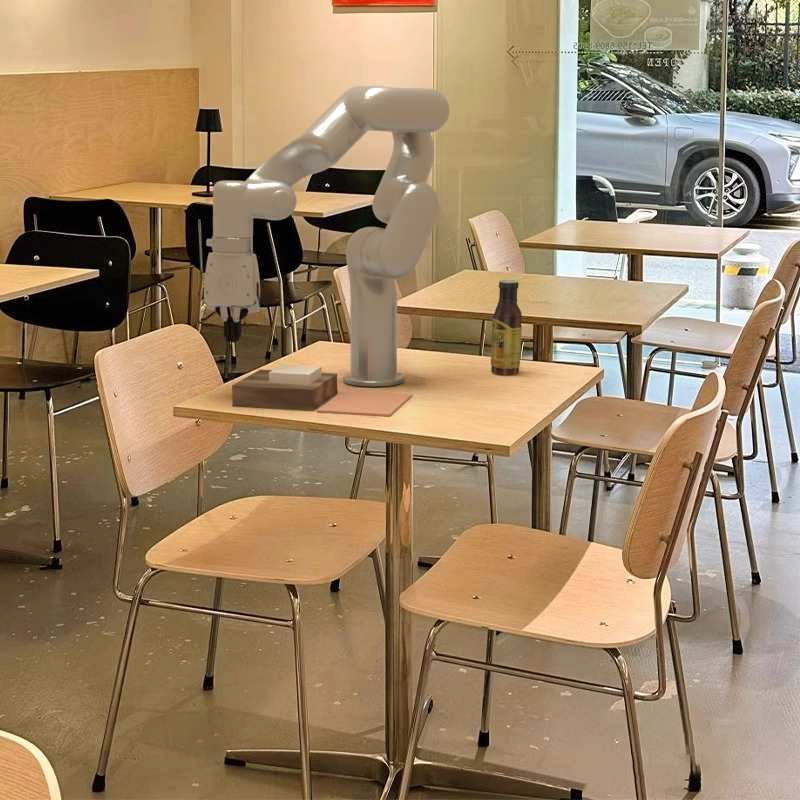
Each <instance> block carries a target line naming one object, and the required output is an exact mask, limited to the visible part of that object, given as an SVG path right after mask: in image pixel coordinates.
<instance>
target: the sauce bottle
mask: <svg viewBox="0 0 800 800" xmlns="http://www.w3.org/2000/svg"><path fill="white" fill-rule="evenodd" d="M498 288H499V292H498V293H499V297H498V302H497V306H496V308H495V310H494V313H493V316H492V320H491V321H492V323H491V324H492V325H491V342H490V343H491V344H490V345H491V351H490V366H491V368H490V371H491V373H492V374H495V375H498V376H515V375H518V374H519V373H520V366H521V352H522V351H521V349H522V331H523V329H522V318H523V317H522V311H521V309H520V307H519V305H518V288H519V281H518V280H514V279H501V280H499V283H498Z"/></svg>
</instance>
